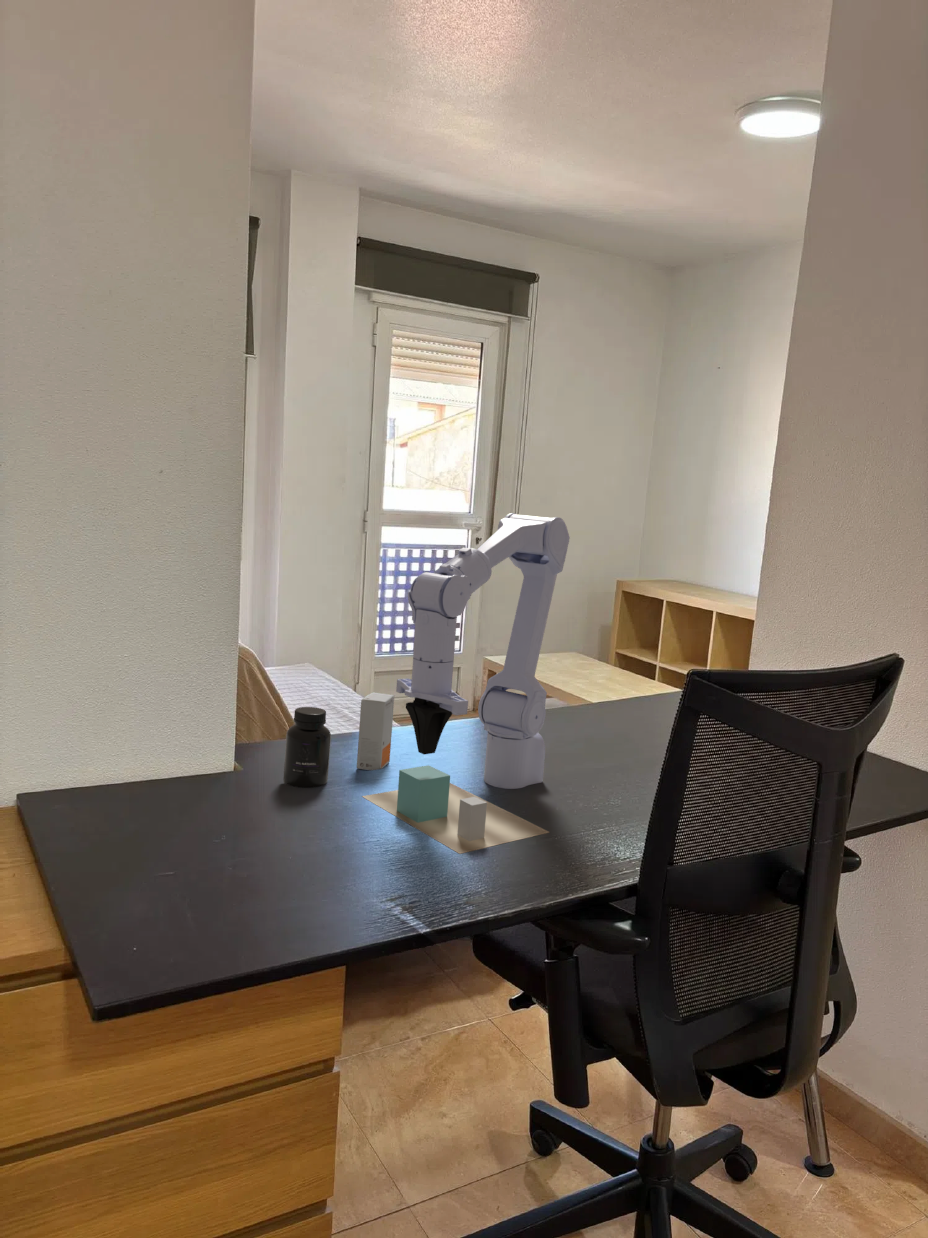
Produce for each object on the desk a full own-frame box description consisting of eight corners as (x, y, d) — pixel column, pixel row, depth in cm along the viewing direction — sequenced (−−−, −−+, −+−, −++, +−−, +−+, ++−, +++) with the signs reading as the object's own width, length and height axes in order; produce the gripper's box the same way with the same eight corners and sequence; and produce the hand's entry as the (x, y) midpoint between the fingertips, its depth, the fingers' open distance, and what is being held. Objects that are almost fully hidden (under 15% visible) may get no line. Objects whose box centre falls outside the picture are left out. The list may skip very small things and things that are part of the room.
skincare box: (380, 772, 150) (385, 702, 149) (355, 769, 151) (360, 699, 149) (390, 762, 156) (395, 694, 155) (367, 759, 157) (371, 691, 155)
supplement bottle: (298, 795, 137) (302, 717, 135) (275, 782, 142) (278, 707, 140) (336, 788, 141) (340, 713, 139) (312, 775, 146) (316, 703, 144)
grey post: (472, 831, 125) (475, 796, 125) (484, 837, 123) (487, 802, 123) (457, 834, 124) (460, 799, 123) (469, 841, 122) (472, 805, 121)
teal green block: (425, 805, 134) (428, 765, 133) (447, 816, 130) (450, 775, 129) (396, 810, 131) (399, 770, 130) (417, 822, 127) (420, 780, 126)
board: (446, 786, 146) (447, 781, 146) (549, 837, 127) (549, 832, 127) (361, 801, 136) (361, 796, 136) (459, 859, 117) (459, 853, 117)
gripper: (381, 650, 131) (375, 742, 133) (441, 671, 119) (434, 770, 121) (421, 648, 135) (415, 736, 137) (482, 667, 124) (475, 764, 126)
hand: (426, 752), depth 129 cm, fingers closed
